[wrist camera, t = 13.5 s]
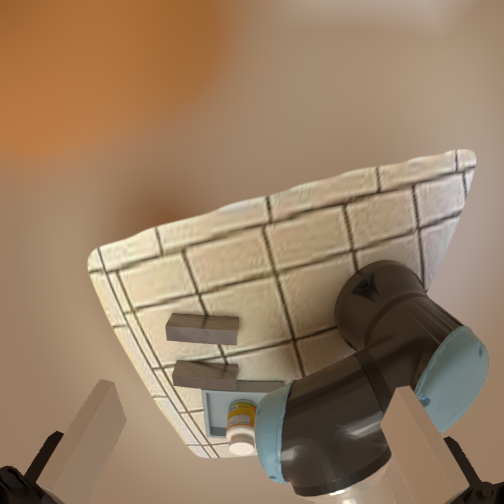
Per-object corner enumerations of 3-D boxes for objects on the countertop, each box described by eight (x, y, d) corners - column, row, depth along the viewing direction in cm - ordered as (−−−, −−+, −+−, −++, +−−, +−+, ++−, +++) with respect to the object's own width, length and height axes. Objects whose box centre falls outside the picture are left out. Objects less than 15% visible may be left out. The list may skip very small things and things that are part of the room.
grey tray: (282, 381, 44) (284, 392, 42) (276, 428, 48) (277, 439, 45) (204, 378, 44) (201, 389, 41) (208, 426, 48) (206, 437, 45)
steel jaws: (238, 317, 41) (236, 330, 37) (237, 375, 44) (236, 390, 40) (172, 313, 41) (165, 326, 37) (178, 371, 44) (173, 385, 40)
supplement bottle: (257, 418, 46) (257, 458, 37) (228, 417, 46) (224, 456, 37) (259, 399, 45) (260, 440, 35) (228, 398, 45) (224, 439, 35)
